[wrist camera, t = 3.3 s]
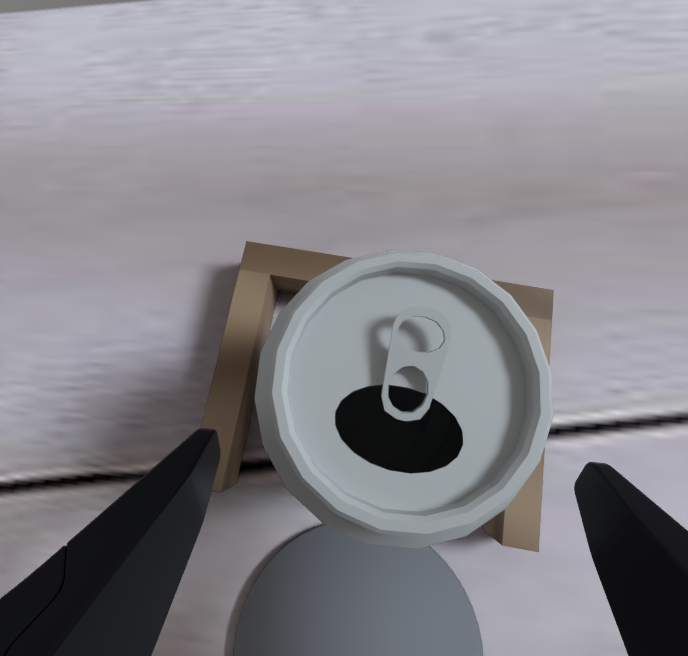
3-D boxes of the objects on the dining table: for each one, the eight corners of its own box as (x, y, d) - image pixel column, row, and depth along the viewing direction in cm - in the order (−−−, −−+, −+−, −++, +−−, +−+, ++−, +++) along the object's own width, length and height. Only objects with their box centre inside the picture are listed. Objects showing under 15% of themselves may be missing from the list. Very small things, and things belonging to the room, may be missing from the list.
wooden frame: (513, 534, 19) (538, 552, 16) (206, 477, 19) (186, 486, 17) (529, 304, 21) (553, 290, 19) (257, 260, 22) (246, 241, 19)
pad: (467, 828, 16) (470, 839, 16) (209, 772, 17) (205, 781, 16) (491, 541, 19) (494, 544, 18) (264, 499, 19) (262, 501, 19)
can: (282, 457, 19) (188, 521, 8) (320, 315, 21) (289, 190, 9) (431, 496, 19) (569, 625, 7) (458, 348, 21) (607, 260, 9)
